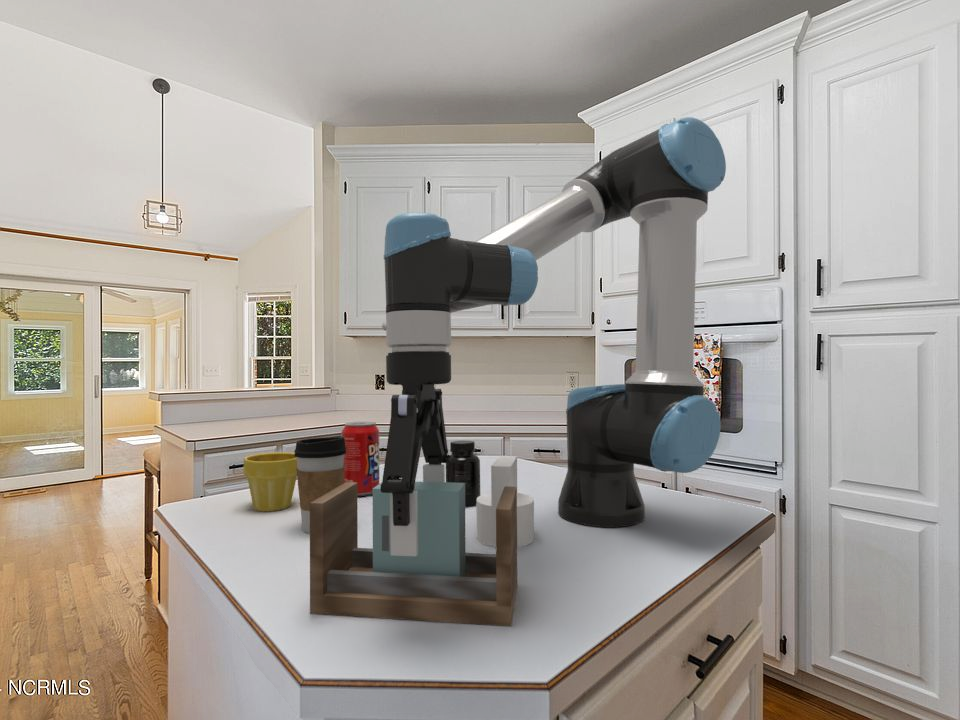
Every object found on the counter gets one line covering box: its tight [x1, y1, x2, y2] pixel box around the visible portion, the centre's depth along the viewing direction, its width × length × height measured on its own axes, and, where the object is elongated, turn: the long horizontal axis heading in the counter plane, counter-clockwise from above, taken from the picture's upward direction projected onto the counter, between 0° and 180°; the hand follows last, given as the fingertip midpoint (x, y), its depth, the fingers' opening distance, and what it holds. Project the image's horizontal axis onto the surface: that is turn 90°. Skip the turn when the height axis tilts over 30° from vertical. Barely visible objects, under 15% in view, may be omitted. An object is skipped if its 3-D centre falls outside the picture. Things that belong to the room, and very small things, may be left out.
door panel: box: [372, 481, 467, 577], centre depth 59 cm, size 10×4×11 cm, turn 82°
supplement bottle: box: [445, 440, 481, 508], centre depth 100 cm, size 7×7×12 cm
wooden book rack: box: [309, 482, 518, 627], centre depth 59 cm, size 22×10×12 cm, turn 82°
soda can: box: [340, 421, 380, 498], centre depth 108 cm, size 8×8×15 cm
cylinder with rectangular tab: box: [475, 455, 535, 548], centre depth 79 cm, size 9×9×12 cm
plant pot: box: [243, 451, 298, 512], centre depth 98 cm, size 10×10×10 cm
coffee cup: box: [293, 436, 347, 534], centre depth 85 cm, size 8×8×15 cm
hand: (421, 533), depth 59 cm, fingers open, 13 cm apart
